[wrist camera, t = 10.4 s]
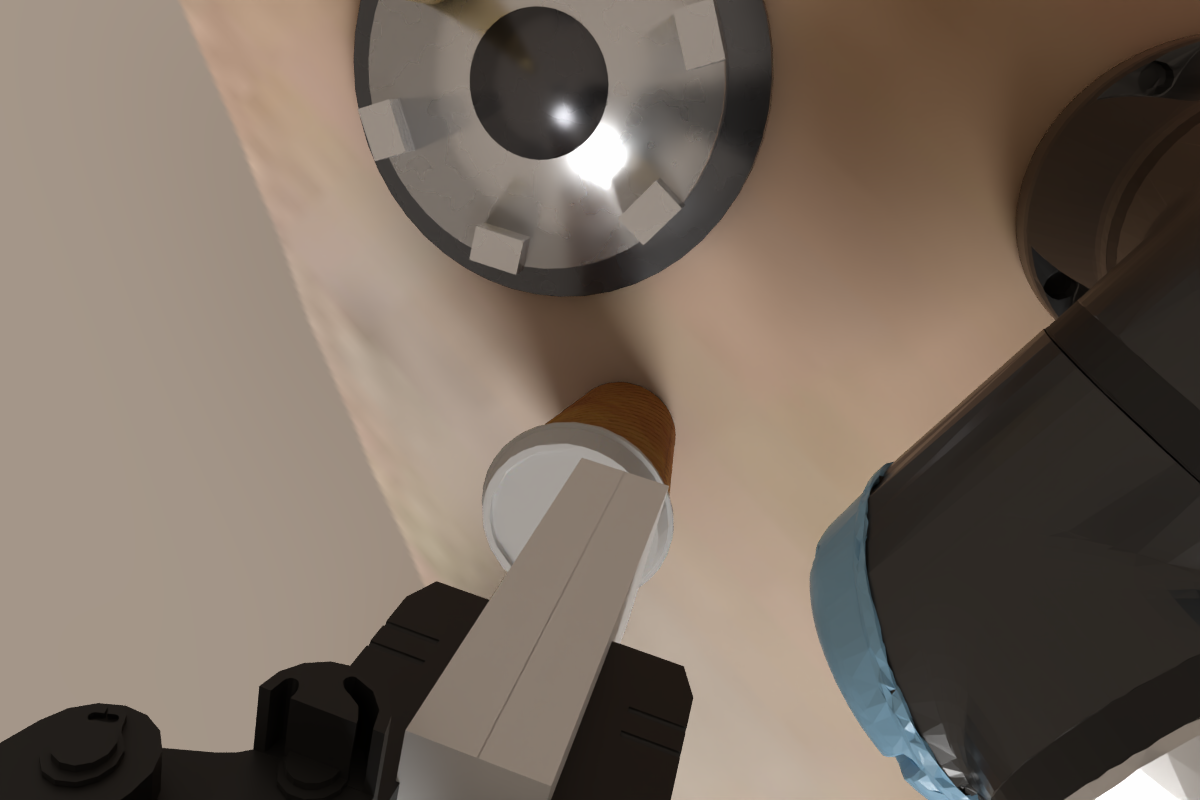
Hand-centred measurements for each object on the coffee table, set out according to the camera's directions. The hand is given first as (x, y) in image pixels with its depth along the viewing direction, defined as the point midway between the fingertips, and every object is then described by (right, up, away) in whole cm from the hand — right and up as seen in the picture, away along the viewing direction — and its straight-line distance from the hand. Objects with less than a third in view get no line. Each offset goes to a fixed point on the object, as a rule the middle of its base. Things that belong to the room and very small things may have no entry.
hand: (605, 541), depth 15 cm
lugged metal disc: (-3, +18, +30) cm, 35 cm away
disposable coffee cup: (+1, 0, +38) cm, 38 cm away
